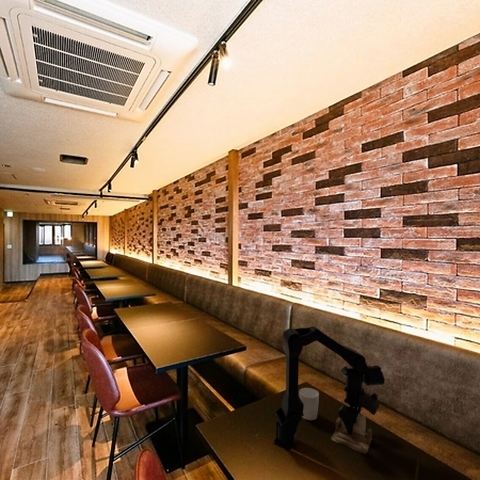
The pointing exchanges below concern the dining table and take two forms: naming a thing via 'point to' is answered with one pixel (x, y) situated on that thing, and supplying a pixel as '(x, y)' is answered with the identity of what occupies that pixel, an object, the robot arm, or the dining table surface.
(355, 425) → the birch sheet
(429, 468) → the dining table surface
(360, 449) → the offcut stack
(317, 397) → the white cup
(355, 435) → the rack
